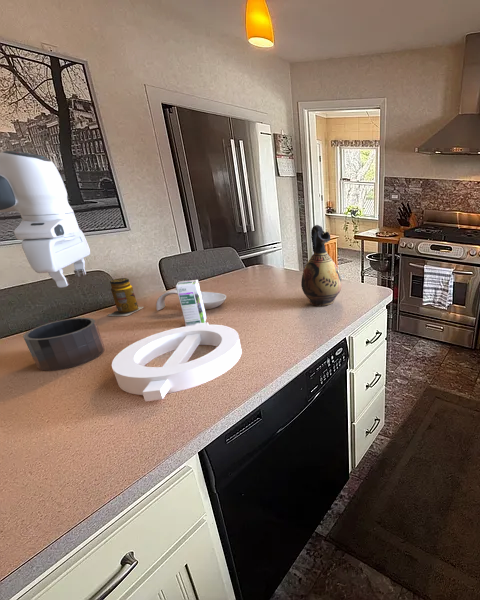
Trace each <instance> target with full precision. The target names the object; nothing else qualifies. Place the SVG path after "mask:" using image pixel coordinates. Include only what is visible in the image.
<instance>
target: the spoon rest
mask: <svg viewBox="0 0 480 600" xmlns="http://www.w3.org/2000/svg"><path fill="white" fill-rule="evenodd" d="M171 295H177V296H178V293H177V289H176V288H175V289H170V290H167V291H166V292H164V293H163V294H161V295H160V296H159V297H158V298H157V300H156V302H155V309H156V311H160V310H161V311H162V309H164V308H165V307H166V298H167V297H168V296H171ZM201 295H202V300H203V304H204V309H205V310H213V309H216V308H218V307H219V306H222V305H223V303H224V302H225V301H226V299H227V295H226V294H225V293H221V292H215V291H214V292H213V291H201Z"/></svg>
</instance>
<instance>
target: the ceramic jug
mask: <svg viewBox="0 0 480 600" xmlns="http://www.w3.org/2000/svg"><path fill="white" fill-rule="evenodd" d="M310 234H311V235H310V238H311V244H312V246H311V247H312V255H311V257H310V258H309V260H308V261H307V263H306V265H305V267H304V269H303V272H302V274H301V283H300V284H301V290H302V292H303V294H304V296H305V297H306V298H307V299H308V300H309V302H310V304H311V305H312V306H313V307H327V306H330V305H333V304H334V302H335V300H336V298H337V297H338V295H339V294H340V292H341V289H342V287H343V285H342V284H343V283H342V276H341V273H340V271H339V268H338V266H337V264H336V263H335V261H334V260H333V258H332V257H331V255H329V253H328V251H327V250H326V245H325V244H326V243H328V242H330V241H331V234H330V232H329V231H325V232H324V230H323V227H322V226H321V225H319V224H315V225H313V226H312V228H311V230H310Z"/></svg>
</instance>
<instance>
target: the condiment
mask: <svg viewBox="0 0 480 600" xmlns="http://www.w3.org/2000/svg"><path fill="white" fill-rule="evenodd" d="M109 284H110V287H111V288H110V291H111V295H112V298H113V301H114V304H115V307H116V311H113V312H112V313H108V314H107V316H109V317H128V316H131V315H133V314H134V313H137V312H138V311H141V310H142V309H143V308H145V306H139V304H138V301H137V298H136V294H135V291H134V287H133V285H131V282H130V279H129V278H127V277H121V278H115V279H111V280H110V281H109Z"/></svg>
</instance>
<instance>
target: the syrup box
mask: <svg viewBox="0 0 480 600" xmlns="http://www.w3.org/2000/svg"><path fill="white" fill-rule="evenodd" d="M175 289H177V293H178V295H177V297H178V302H179V305H180V308H181V312H182V316H183V320H184V325H185V326H192V325H196V323H206V321H207V313H206V309H204V304H203V300H202V295H201V292H202V291H201V288H200V282H199V279H192V280H180V281H178V282H177V283H176V285H175Z"/></svg>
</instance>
